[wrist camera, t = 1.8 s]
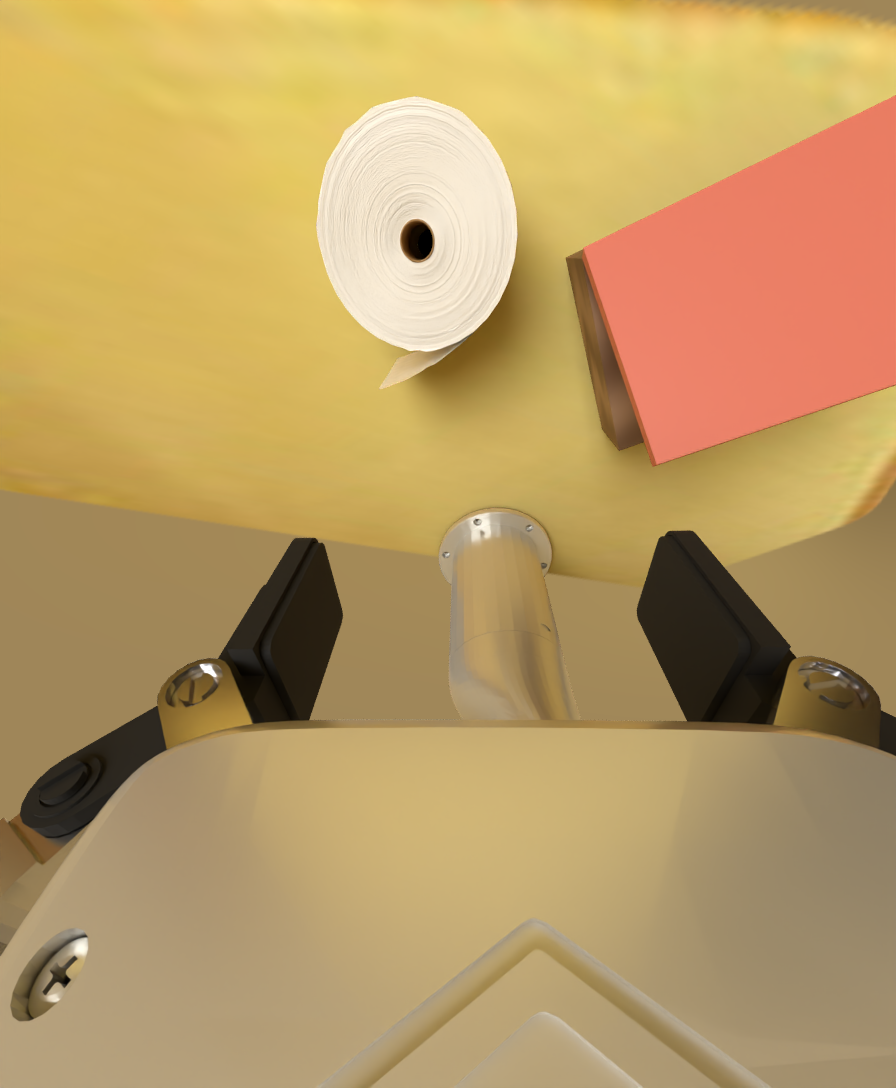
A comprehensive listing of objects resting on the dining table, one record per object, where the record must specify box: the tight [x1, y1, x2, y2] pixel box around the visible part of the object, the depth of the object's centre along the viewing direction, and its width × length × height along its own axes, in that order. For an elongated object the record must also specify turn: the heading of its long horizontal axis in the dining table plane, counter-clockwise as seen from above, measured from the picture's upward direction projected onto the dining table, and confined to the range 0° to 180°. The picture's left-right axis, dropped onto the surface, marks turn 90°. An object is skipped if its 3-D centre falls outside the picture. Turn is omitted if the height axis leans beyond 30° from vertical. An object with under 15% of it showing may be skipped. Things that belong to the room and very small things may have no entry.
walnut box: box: [566, 250, 644, 451], centre depth 29 cm, size 15×18×5 cm
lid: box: [582, 95, 896, 466], centre depth 23 cm, size 14×18×1 cm
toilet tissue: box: [316, 96, 518, 389], centre depth 26 cm, size 11×12×10 cm
